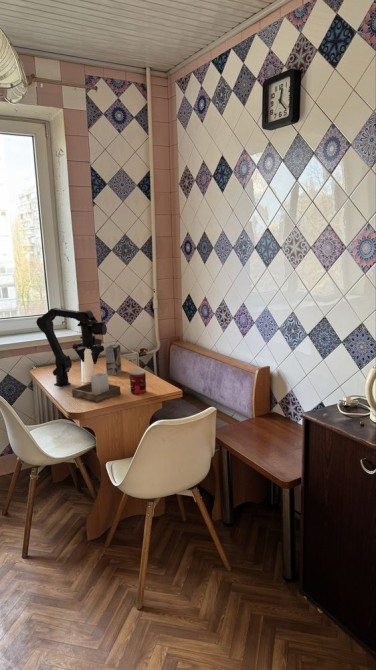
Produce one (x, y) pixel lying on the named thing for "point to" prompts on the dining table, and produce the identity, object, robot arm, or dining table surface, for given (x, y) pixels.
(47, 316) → the robot arm
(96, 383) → the light grey block
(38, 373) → the dining table surface
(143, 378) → the canned food
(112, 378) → the dining table surface
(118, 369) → the coffee box
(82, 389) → the walnut crate
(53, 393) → the dining table surface
